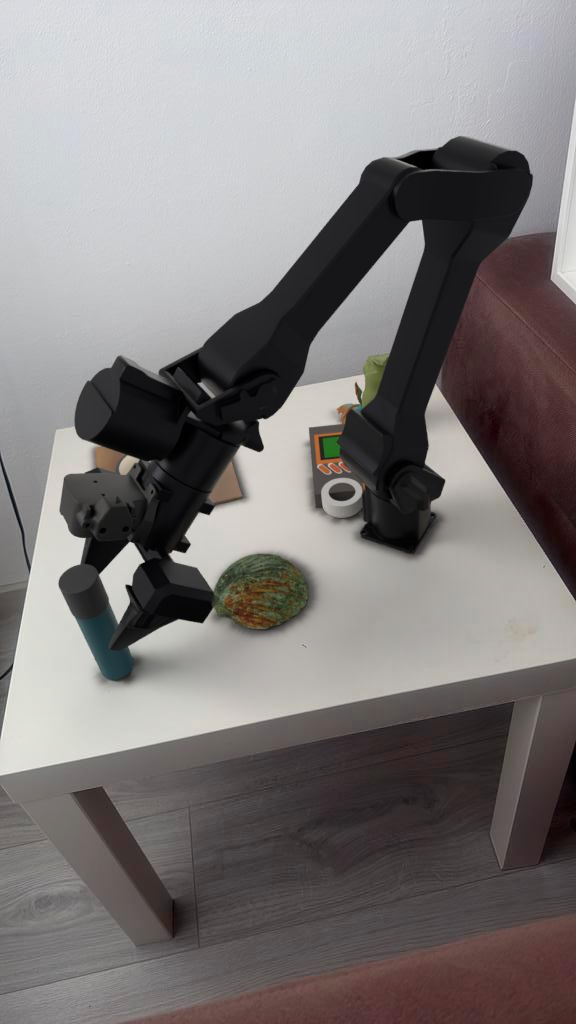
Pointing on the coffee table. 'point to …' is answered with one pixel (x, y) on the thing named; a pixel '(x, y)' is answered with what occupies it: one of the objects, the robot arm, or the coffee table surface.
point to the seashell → (260, 591)
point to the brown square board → (123, 463)
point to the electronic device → (333, 474)
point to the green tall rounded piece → (373, 376)
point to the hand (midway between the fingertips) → (97, 615)
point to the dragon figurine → (347, 407)
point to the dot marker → (95, 619)
